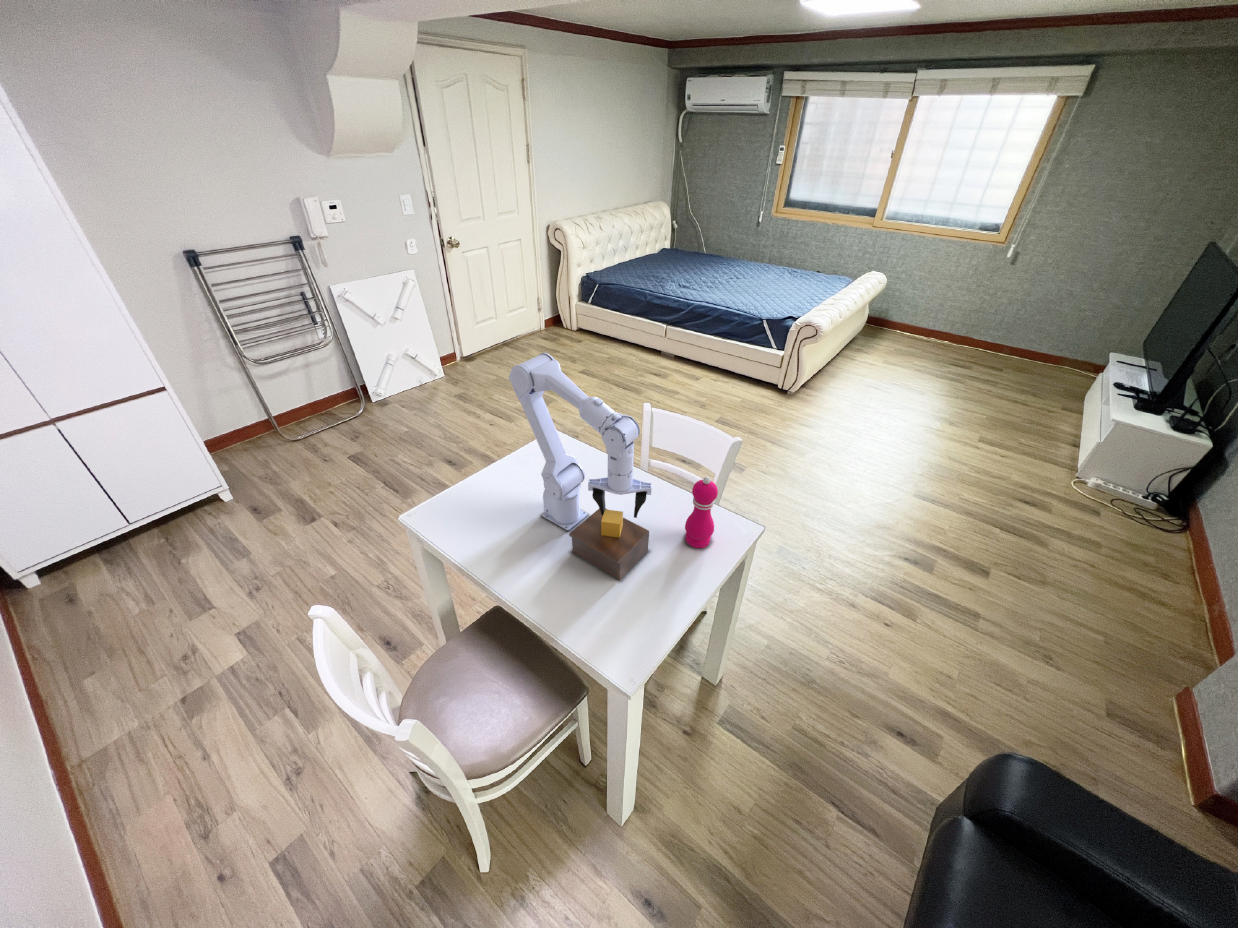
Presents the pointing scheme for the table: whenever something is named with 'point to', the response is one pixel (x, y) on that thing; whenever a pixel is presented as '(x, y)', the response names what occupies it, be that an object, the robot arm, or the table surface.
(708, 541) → the pepper mill
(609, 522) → the mustard block
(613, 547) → the box lid
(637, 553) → the box
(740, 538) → the table surface
